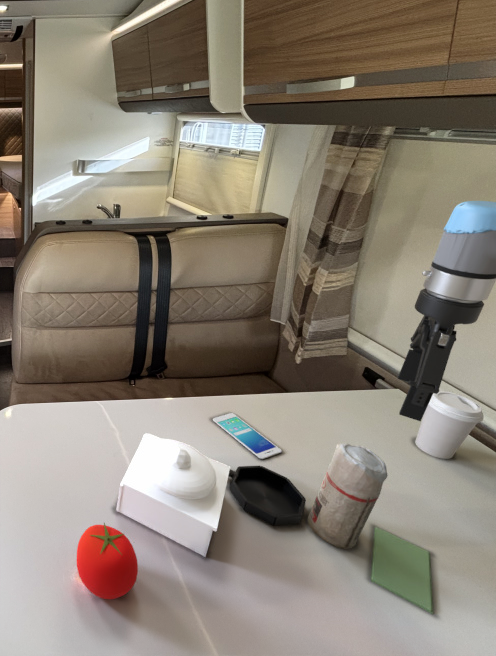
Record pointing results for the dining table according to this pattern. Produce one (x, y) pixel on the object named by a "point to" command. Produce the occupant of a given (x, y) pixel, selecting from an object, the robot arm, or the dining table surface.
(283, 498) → the black octagonal pan
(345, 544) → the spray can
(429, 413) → the coffee cup
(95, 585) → the tomato
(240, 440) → the smartphone
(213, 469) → the butter dish
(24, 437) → the dining table surface
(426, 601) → the green flat panel
